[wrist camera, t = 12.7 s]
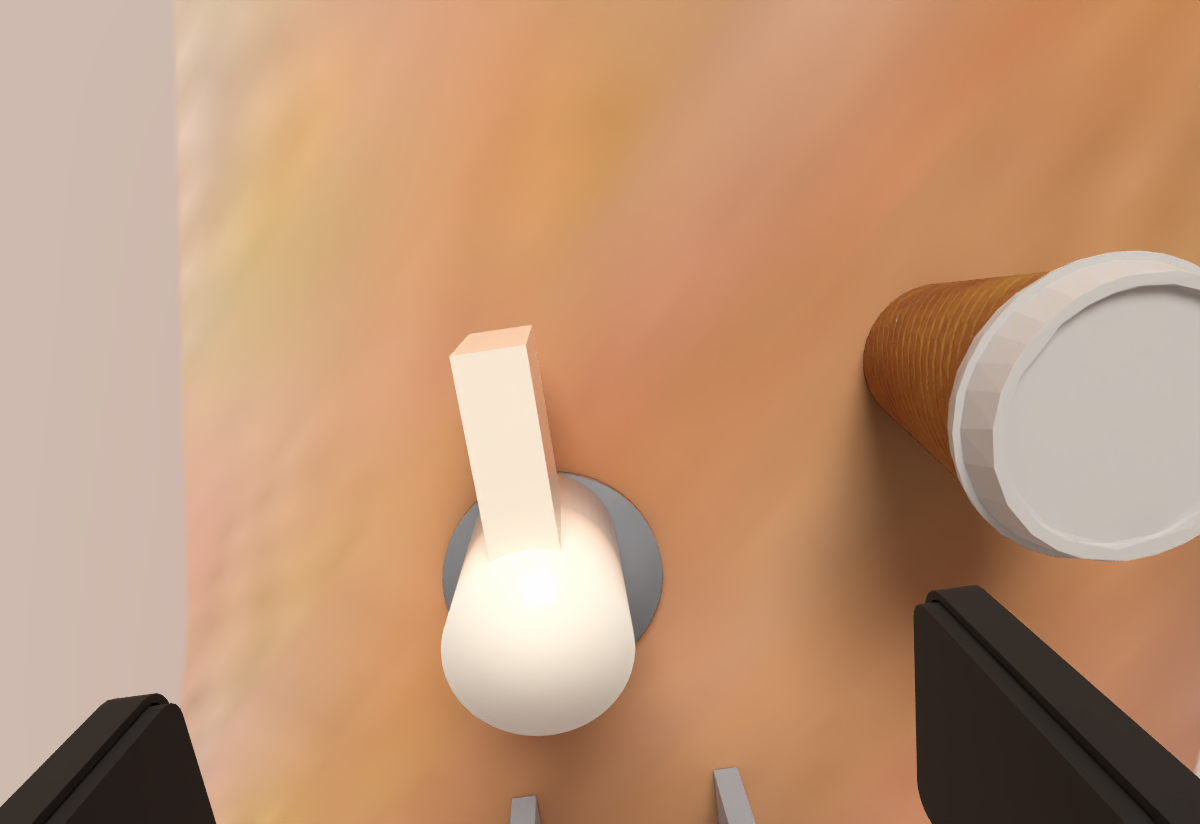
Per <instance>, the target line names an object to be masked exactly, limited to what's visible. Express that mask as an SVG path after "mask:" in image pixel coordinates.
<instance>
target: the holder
mask: <svg viewBox="0 0 1200 824" xmlns="http://www.w3.org/2000/svg"><path fill="white" fill-rule="evenodd" d="M713 771H714V781H715V791H716V801H717V812H718V822H719V824H756V823H755V820H754V817H753V814H752V811H751V808H750V805H749V802H748V799H747V796H746V793H745V790H744V787H743V784H742V781H741V778H740V775H739V772H738V769H737V767H733V768H726V769H718V770H713ZM510 824H541V822H540V816H539V810H538V804H537V798H536V795H534V796H527V797H520V798H513V799H512V806H511V818H510Z"/></svg>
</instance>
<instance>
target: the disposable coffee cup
mask: <svg viewBox="0 0 1200 824" xmlns="http://www.w3.org/2000/svg"><path fill="white" fill-rule="evenodd" d="M864 372H865V377H866V381H867V385H868V387H869V390H870V392H871V393H872V395H873V396H874V398H875V399H876V401H877V402H878V404H879V405H880V406H881V407H882V408H883V409H884V410H885V411H886V412H887V413H888V414H889V415H890V416H891V417H892V418H893V419H895V420H896V421H897V422H898V423H899V424H900V425H901V426H902V427H903V428H904V429H905V430H906V431H907V432H908V433H909V434H910V435H911V436H912V437H914V438H915V439H916V440H917V441H918V442H919V443H920V444H921V445H922V446H923V447H924V448H925V449H926V450H927V451H928V452H929V453H930V454H931V455H933V456H934V457H935V458H936V459H937V460H938V461H939V462H940V463H941V464H942V465H943V466H944V467H945V468H946V469H947V470H948V471H950V472H951V473H952V474H953V475H954V476H955V477H956V478H957V479H958V480H959V481H960V483H961V485H962V487H963V489H964V491H965V493H966V495H967V497H968V499H969V501H970V502H971V503H972V505H973V506H974V507H975V508H976V510H977V511H978V512H979V513H980V515H981V516H982V517H983V518H984V519H985V520H986V521H987V522H988V523H990V524H991V525H992V526H993V527H994V528H995V529H996V530H997V531H998V532H999V533H1000V534H1002V535H1003V536H1005V537H1007V538H1008V539H1010V540H1012V541H1014V542H1016V543H1018V544H1020V545H1021V546H1023V547H1025V548H1027V549H1029V550H1032V551H1036V552H1039V553H1043V554H1047V555H1050V556H1054V557H1063V558H1077V559H1090V560H1099V561H1128V560H1133V559H1138V558H1143V557H1148V556H1152V555H1157V554H1159V553H1162V552H1164V551H1167V550H1169V549H1172V548H1174V547H1177V546H1179V545H1182V544H1184V543H1186V542H1187V541H1189V540H1191V539H1193V538H1194V537H1196V536H1198V535H1199V534H1200V267H1198V266H1196V265H1194V264H1192V263H1190V262H1188V261H1186V260H1183V259H1180V258H1177V257H1174V256H1170V255H1167V254H1163V253H1155V252H1147V251H1121V252H1109V253H1104V254H1100V255H1096V256H1092V257H1088V258H1084V259H1080V260H1076V261H1074V262H1072V263H1069V264H1067V265H1065V266H1063V267H1060V268H1058V269H1056V270H1053V271H1051V272H1042V273H1032V274H1023V275H1014V276H1005V277H995V278H986V279H976V280H968V281H959V282H950V283H940V284H930V285H925V286H922V287H919V288H915V289H913V290H911V291H909V292H907V293H905V294H903V295H901V296H900V297H899V298H897V299H896V300H894V301H893V302H892V303H891V304H890V305H889V306H888V307H887V308H886V309H885V310H884V311H883V312H882V313H881V314H880V316H879V317H878V319H877V320H876V322H875V323H874V325H873V327H872V329H871V331H870V334H869V336H868V338H867V342H866V346H865V351H864Z"/></svg>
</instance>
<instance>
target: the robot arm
mask: <svg viewBox="0 0 1200 824" xmlns="http://www.w3.org/2000/svg"><path fill="white" fill-rule="evenodd" d="M914 655H915V701H916V746H917V783H918V790H919V795H920V798H921V802H922V805H923V807H924V810H925V812H926V814H927V816H928V818H929V819H930V821H931V823H932V824H1200V779H1199V778H1198V777H1197V776H1196V775H1195V774H1194V773H1193V772H1191V771H1190V770H1189V769H1188V768H1187V767H1186V766H1185V765H1183V764H1182V763H1181V762H1180V761H1179V760H1178V759H1177V758H1175V757H1174V756H1173V755H1172V754H1171V753H1170V752H1169V751H1167V750H1166V749H1165V748H1164V747H1163V746H1162V745H1161V744H1159V743H1158V742H1157V741H1156V740H1155V739H1154V738H1153V737H1151V736H1150V735H1149V734H1148V733H1147V732H1146V731H1145V730H1143V729H1142V728H1141V727H1140V726H1139V725H1138V724H1137V723H1135V722H1134V721H1133V720H1132V719H1131V718H1130V717H1129V716H1127V715H1126V714H1125V713H1124V712H1123V711H1122V710H1121V709H1120V708H1118V707H1117V706H1116V705H1115V704H1114V703H1113V702H1112V701H1110V700H1109V699H1108V698H1107V697H1106V696H1105V695H1104V694H1102V693H1101V692H1100V691H1099V690H1098V689H1097V688H1096V687H1094V686H1093V685H1092V684H1091V683H1090V682H1089V681H1088V680H1086V679H1085V678H1084V677H1083V676H1082V675H1081V674H1080V673H1078V672H1077V671H1076V670H1075V669H1074V668H1073V667H1072V666H1070V665H1069V664H1068V663H1067V662H1066V661H1065V660H1064V659H1062V658H1061V657H1060V656H1059V655H1058V654H1057V653H1056V652H1055V651H1053V650H1052V649H1051V648H1050V647H1049V646H1048V645H1047V644H1045V643H1044V642H1043V641H1042V640H1041V639H1040V638H1039V637H1037V636H1036V635H1035V634H1034V633H1033V632H1032V631H1031V630H1029V629H1028V628H1027V627H1026V626H1025V625H1024V624H1023V623H1021V622H1020V621H1019V620H1018V619H1017V618H1016V617H1015V616H1013V615H1012V614H1011V613H1010V612H1009V611H1008V610H1007V609H1005V608H1004V607H1003V606H1002V605H1001V604H1000V603H999V602H997V601H996V600H995V599H994V598H993V597H992V596H991V595H989V594H988V593H987V592H986V591H985V590H984V589H982V588H981V587H979V586H974V585H972V586H965V587H957V588H950V589H942V590H935V591H931V592H929V593H928V595H927V598H926V604H919V605H917V606H916V607H915V610H914ZM0 824H216V822H215V818H214V815H213V812H212V808H211V805H210V802H209V799H208V795H207V792H206V789H205V786H204V782H203V779H202V776H201V772H200V769H199V766H198V763H197V759H196V756H195V753H194V749H193V746H192V743H191V740H190V736H189V733H188V730H187V726H186V723H185V720H184V717H183V714H182V711H181V709H180V708H179V707H178V706H177V705H176V704H172V703H170V704H169V702H168V700H167V699H166V698H165V697H164V696H163V695H160V694H157V693H155V694H148V695H140V696H133V697H125V698H117V699H112V700H108V701H106V702H105V703H103V704H102V705H101V706H100V707H99V708H98V709H97V710H96V711H95V712H94V713H93V714H92V715H91V716H90V717H89V718H88V719H87V720H86V721H85V722H84V723H83V724H82V725H81V726H80V727H79V728H78V729H77V730H76V731H75V732H74V733H73V734H72V735H71V736H70V737H69V738H68V739H67V740H66V741H65V742H64V743H63V744H62V745H61V746H60V747H59V748H58V749H57V750H56V751H55V752H54V753H53V754H52V755H51V756H50V758H48V759H47V760H46V761H45V763H43V765H41V767H39V769H38V770H37V771H36V772H35V773H34V774H33V775H32V776H31V777H30V778H29V779H28V780H27V781H26V782H25V783H24V784H23V785H22V786H21V787H20V788H19V789H18V790H17V791H16V792H15V793H14V794H13V795H12V796H11V797H10V798H9V799H8V800H7V801H6V802H5V803H4V804H3V805H2V806H1V807H0Z"/></svg>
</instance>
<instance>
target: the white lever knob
mask: <svg viewBox="0 0 1200 824" xmlns="http://www.w3.org/2000/svg"><path fill="white" fill-rule="evenodd" d="M449 357H450V362H451V367H452V372H453V378H454V383H455V388H456V393H457V398H458V403H459V408H460V413H461V418H462V424H463V429H464V434H465V439H466V444H467V449H468V454H469V459H470V465H471V470H472V475H473V480H474V485H475V490H476V495H477V500H478V506H479V511H480V512H479V514H478V517H477V519H476V522H475V526H474V529H473V532H472V536H471V539H470V543H469V546H468V549H467V553H466V556H465V560H464V563H463V566H462V570H461V573H460V576H459V580H458V583H457V587H456V590H455V593H454V597H453V600H452V604H451V607H450V610H449V614H448V617H447V621H446V624H445V627H444V631H443V635H442V642H441V659H442V666H443V670H444V673H445V676H446V679H447V681H448V683H449V686H450V688H451V689H452V691H453V693H454V694H455V696H456V697H457V699H458V700H459V701H460V702H461V703H462V704H463V706H464V707H465V708H466V709H468V710H469V711H470V712H471V713H472V714H473V715H475V716H476V717H477V718H479V719H480V720H482V721H483V722H485V723H487V724H489V725H491V726H493V727H495V728H498V729H501V730H503V731H506V732H510V733H514V734H519V735H527V736H546V735H555V734H559V733H564V732H568V731H571V730H573V729H576V728H579V727H581V726H583V725H585V724H587V723H589V722H591V721H592V720H594V719H595V718H597V717H599V716H600V715H601V714H602V713H603V712H605V711H606V710H607V709H608V708H609V707H610V706H611V705H612V704H613V703H614V702H615V701H616V700H617V698H618V697H619V695H620V694H621V693H622V691H623V689H624V688H625V686H626V684H627V682H628V680H629V677H630V674H631V672H632V668H633V664H634V658H635V638H634V632H633V626H632V621H631V615H630V610H629V604H628V599H627V593H626V588H625V582H624V577H623V571H622V566H621V560H620V555H619V550H618V544H617V539H616V533H615V528H614V524H613V520H612V518H611V515H610V513H609V511H608V509H607V507H606V505H605V504H604V503H603V501H602V500H601V499H600V498H599V497H598V496H597V495H596V493H595V492H593V491H592V490H591V489H590V488H588V487H587V486H585V485H584V484H582V483H580V482H579V481H576V480H574V479H572V478H569V477H565V476H562V475H557V471H556V465H555V459H554V453H553V447H552V441H551V435H550V429H549V423H548V417H547V411H546V405H545V399H544V393H543V387H542V381H541V375H540V369H539V363H538V357H537V351H536V345H535V339H534V333H533V327H532V325H527V326H520V327H513V328H507V329H500V330H493V331H487V332H480V333H473V334H469V335H468V336H467V337H466V339H465V340H464V341H463V342H462V343H461V344H460V345H459V346H458V347H457V348H456V350H455V351H454V352H453V353H452V354H451V355H450V356H449Z"/></svg>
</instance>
